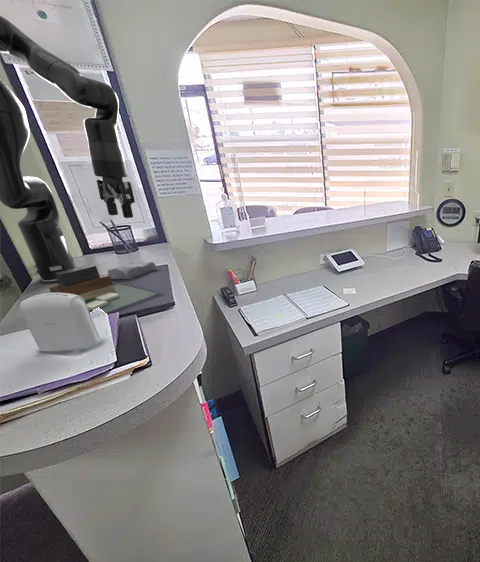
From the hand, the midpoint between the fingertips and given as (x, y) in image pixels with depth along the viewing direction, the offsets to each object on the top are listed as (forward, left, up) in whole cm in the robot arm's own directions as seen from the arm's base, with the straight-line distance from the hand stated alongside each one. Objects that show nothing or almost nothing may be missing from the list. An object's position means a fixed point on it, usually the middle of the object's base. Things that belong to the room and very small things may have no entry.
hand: (120, 216), depth 94 cm
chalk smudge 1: (+10, -17, -21) cm, 29 cm away
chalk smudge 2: (+7, -13, -21) cm, 25 cm away
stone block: (-11, +3, -22) cm, 25 cm away
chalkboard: (+7, -15, -22) cm, 27 cm away
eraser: (0, -15, -21) cm, 26 cm away
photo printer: (+28, -30, -22) cm, 46 cm away
